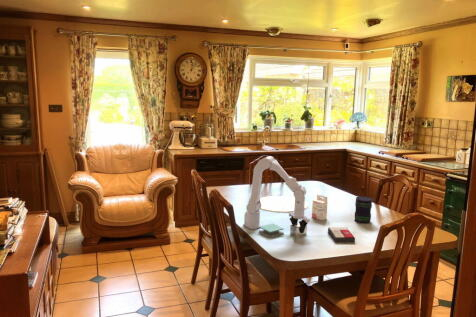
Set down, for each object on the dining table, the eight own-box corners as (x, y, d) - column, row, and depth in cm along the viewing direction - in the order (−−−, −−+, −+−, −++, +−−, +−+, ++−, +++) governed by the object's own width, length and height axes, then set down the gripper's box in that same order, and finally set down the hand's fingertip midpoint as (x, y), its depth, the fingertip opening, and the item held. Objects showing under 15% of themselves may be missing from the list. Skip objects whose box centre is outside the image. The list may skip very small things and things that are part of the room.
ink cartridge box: (311, 217, 251) (312, 195, 249) (315, 215, 255) (316, 194, 252) (322, 220, 245) (323, 198, 243) (326, 218, 249) (328, 196, 246)
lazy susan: (246, 209, 268) (246, 204, 267) (259, 195, 305) (259, 191, 304) (303, 215, 256) (304, 210, 256) (310, 200, 293) (311, 196, 293)
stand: (259, 232, 222) (259, 226, 222) (272, 229, 228) (272, 223, 227) (269, 237, 214) (270, 231, 214) (283, 234, 220) (283, 228, 219)
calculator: (335, 236, 208) (327, 226, 223) (334, 244, 209) (327, 233, 224) (355, 236, 208) (346, 226, 223) (354, 244, 209) (346, 233, 224)
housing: (288, 233, 221) (289, 225, 220) (301, 230, 226) (302, 222, 225) (294, 236, 217) (295, 228, 216) (307, 233, 222) (308, 224, 221)
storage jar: (369, 219, 249) (371, 197, 246) (371, 224, 239) (373, 201, 237) (353, 218, 251) (355, 196, 248) (354, 223, 241) (356, 199, 239)
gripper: (285, 206, 222) (284, 229, 224) (303, 212, 211) (302, 236, 213) (294, 204, 226) (293, 226, 229) (312, 210, 215) (311, 233, 217)
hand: (298, 231), depth 221 cm, fingers closed on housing, 5 cm apart
